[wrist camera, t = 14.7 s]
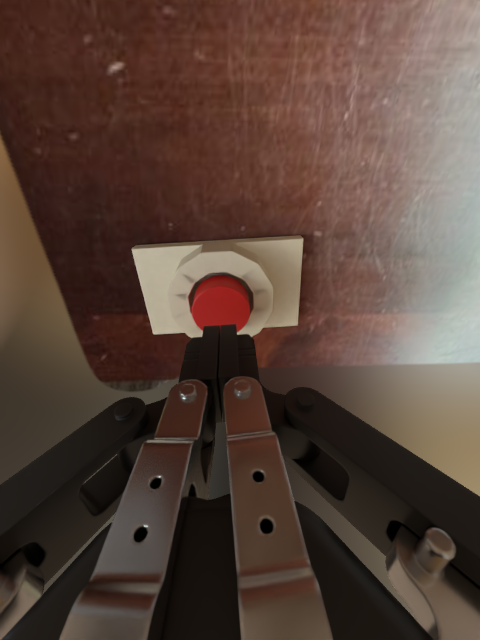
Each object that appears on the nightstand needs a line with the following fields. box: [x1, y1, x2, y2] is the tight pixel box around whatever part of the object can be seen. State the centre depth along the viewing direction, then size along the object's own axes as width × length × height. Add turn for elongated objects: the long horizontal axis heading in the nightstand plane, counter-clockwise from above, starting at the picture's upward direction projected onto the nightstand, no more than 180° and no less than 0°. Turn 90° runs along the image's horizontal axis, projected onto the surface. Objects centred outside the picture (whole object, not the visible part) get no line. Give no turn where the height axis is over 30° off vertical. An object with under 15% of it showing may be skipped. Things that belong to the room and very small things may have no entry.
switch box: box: [132, 235, 303, 338], centre depth 17 cm, size 10×6×2 cm, turn 93°
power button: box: [192, 276, 250, 332], centre depth 16 cm, size 3×3×2 cm
